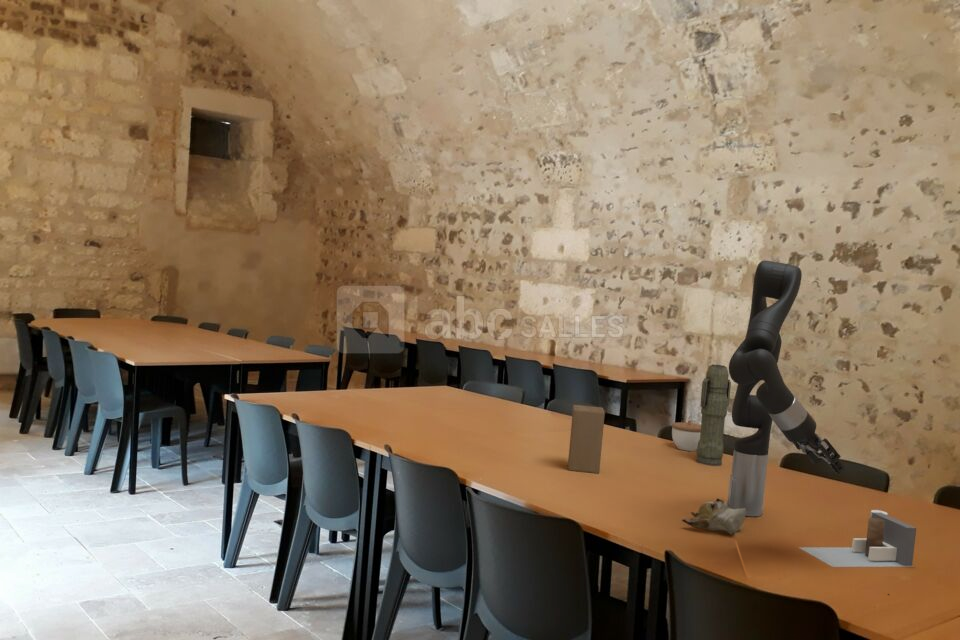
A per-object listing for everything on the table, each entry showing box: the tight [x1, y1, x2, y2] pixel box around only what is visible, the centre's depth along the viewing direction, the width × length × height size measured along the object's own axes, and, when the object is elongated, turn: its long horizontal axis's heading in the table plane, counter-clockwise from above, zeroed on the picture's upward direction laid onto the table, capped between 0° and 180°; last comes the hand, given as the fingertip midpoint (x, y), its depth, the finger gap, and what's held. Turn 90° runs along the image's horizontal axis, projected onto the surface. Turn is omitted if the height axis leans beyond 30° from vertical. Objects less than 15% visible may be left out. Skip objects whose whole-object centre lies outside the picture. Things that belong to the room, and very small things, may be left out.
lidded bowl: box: [671, 419, 701, 452], centre depth 321 cm, size 13×13×11 cm
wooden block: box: [567, 404, 606, 474], centre depth 274 cm, size 10×10×20 cm
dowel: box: [865, 517, 885, 557], centre depth 201 cm, size 4×4×9 cm
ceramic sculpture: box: [681, 498, 746, 536], centre depth 217 cm, size 11×9×15 cm
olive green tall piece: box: [696, 364, 732, 467], centre depth 299 cm, size 9×12×35 cm
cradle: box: [851, 537, 897, 561], centre depth 201 cm, size 7×7×3 cm
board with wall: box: [798, 512, 917, 568], centre depth 200 cm, size 22×13×10 cm, turn 103°
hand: (829, 466), depth 200 cm, fingers open, 8 cm apart
